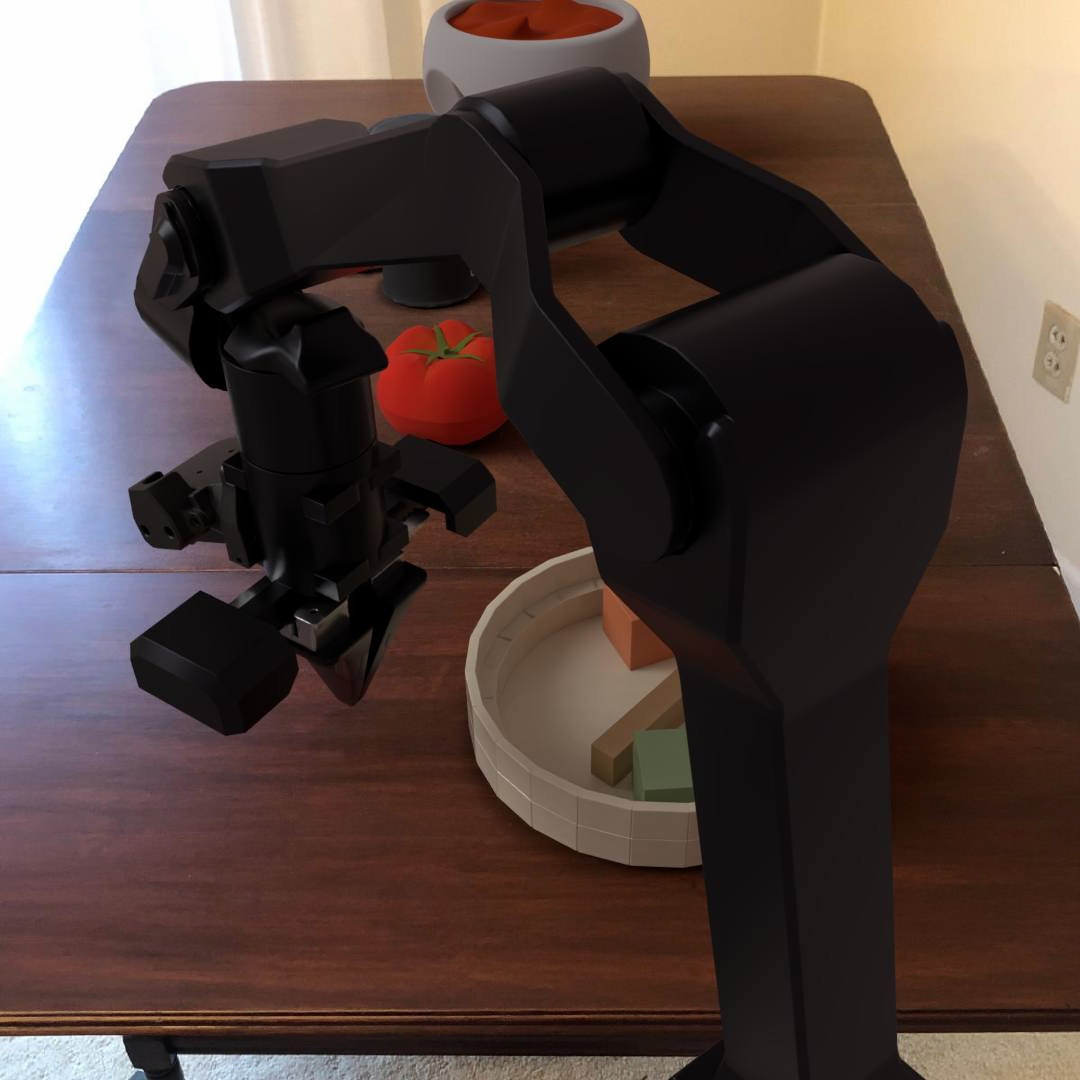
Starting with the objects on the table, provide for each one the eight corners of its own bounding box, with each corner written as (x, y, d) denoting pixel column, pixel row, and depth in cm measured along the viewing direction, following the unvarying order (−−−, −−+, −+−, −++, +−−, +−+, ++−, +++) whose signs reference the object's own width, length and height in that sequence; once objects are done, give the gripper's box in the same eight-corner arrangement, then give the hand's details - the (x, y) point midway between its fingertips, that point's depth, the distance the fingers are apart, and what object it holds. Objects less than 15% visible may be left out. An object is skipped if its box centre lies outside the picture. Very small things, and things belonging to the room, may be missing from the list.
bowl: (903, 835, 64) (920, 771, 61) (506, 908, 61) (503, 844, 58) (765, 580, 80) (773, 520, 77) (446, 627, 77) (441, 566, 74)
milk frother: (475, 311, 111) (466, 150, 101) (302, 309, 111) (278, 149, 102) (487, 243, 122) (480, 93, 113) (330, 243, 122) (311, 93, 113)
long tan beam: (739, 670, 73) (743, 641, 72) (612, 788, 66) (614, 758, 65) (718, 658, 74) (721, 629, 72) (590, 773, 67) (590, 743, 65)
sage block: (717, 835, 63) (723, 784, 61) (641, 840, 63) (644, 790, 61) (704, 776, 67) (709, 725, 64) (631, 781, 66) (633, 730, 64)
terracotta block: (689, 652, 74) (693, 603, 72) (629, 671, 73) (631, 621, 71) (659, 612, 77) (662, 563, 75) (601, 629, 76) (602, 580, 74)
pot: (653, 137, 144) (660, -25, 133) (636, 221, 125) (642, 41, 114) (454, 130, 147) (444, -29, 136) (408, 210, 128) (393, 34, 117)
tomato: (491, 473, 90) (487, 386, 86) (357, 449, 93) (346, 363, 89) (537, 400, 98) (536, 317, 94) (412, 380, 101) (405, 298, 97)
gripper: (313, 300, 61) (348, 546, 70) (-4, 486, 48) (92, 752, 58) (497, 359, 56) (508, 615, 65) (195, 583, 43) (264, 857, 53)
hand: (350, 699), depth 61 cm, fingers closed
